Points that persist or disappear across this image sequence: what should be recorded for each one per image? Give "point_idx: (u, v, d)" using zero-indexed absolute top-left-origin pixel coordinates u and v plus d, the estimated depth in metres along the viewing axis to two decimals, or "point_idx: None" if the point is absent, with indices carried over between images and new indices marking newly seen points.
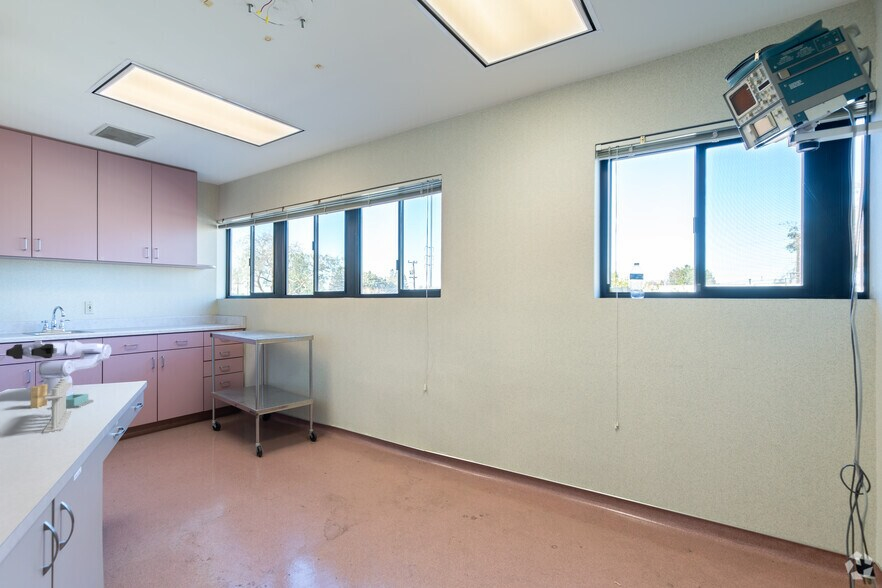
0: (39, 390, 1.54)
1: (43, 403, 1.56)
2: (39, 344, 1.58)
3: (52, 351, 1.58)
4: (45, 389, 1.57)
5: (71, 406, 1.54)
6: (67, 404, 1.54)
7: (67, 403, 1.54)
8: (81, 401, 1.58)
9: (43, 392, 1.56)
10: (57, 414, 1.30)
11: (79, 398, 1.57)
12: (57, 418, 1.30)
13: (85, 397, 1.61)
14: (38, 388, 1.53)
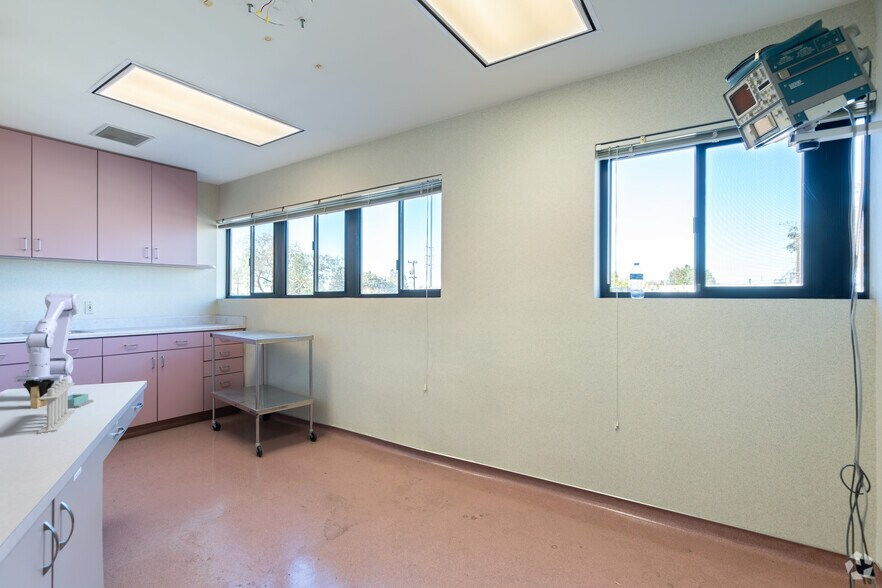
0: (39, 390, 1.54)
1: (43, 403, 1.56)
2: (36, 379, 1.53)
3: (50, 381, 1.56)
4: None
5: (71, 406, 1.54)
6: None
7: None
8: (81, 401, 1.58)
9: None
10: (52, 414, 1.30)
11: (79, 398, 1.57)
12: (52, 418, 1.30)
13: (85, 397, 1.61)
14: (38, 388, 1.53)
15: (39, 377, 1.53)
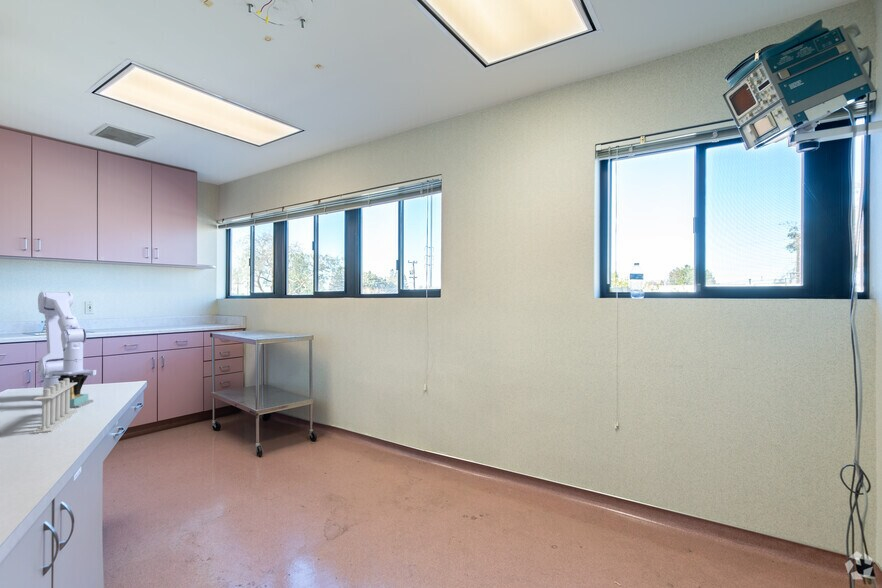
0: None
1: None
2: (71, 374, 1.55)
3: (84, 376, 1.59)
4: None
5: (71, 406, 1.54)
6: None
7: None
8: (81, 401, 1.58)
9: None
10: (48, 415, 1.29)
11: (79, 398, 1.57)
12: (48, 419, 1.29)
13: (85, 397, 1.61)
14: None
15: (73, 372, 1.56)
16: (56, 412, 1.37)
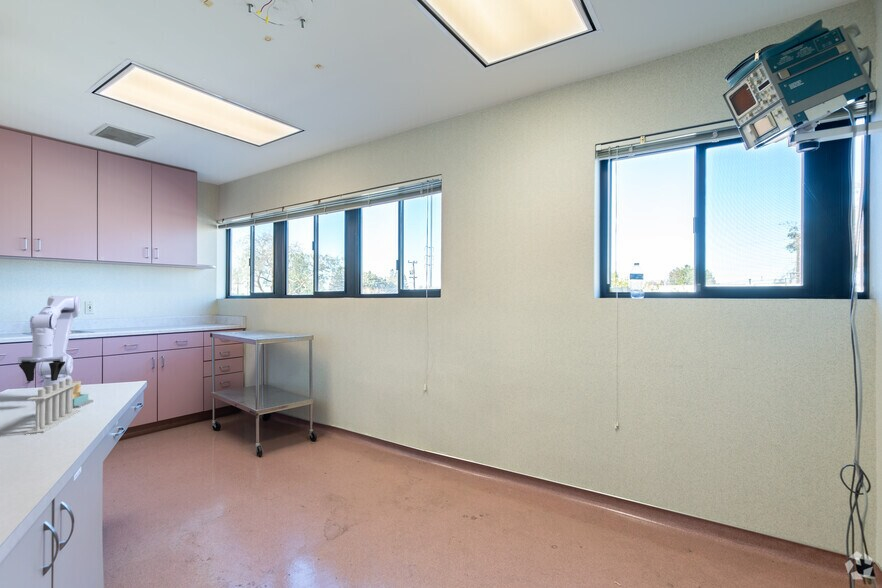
0: (74, 386, 1.57)
1: None
2: (40, 359, 1.53)
3: (61, 362, 1.57)
4: (79, 386, 1.60)
5: None
6: None
7: None
8: (81, 401, 1.58)
9: (77, 389, 1.59)
10: (42, 415, 1.29)
11: (79, 398, 1.57)
12: (42, 419, 1.29)
13: (85, 397, 1.61)
14: None
15: (42, 358, 1.53)
16: (54, 412, 1.36)
